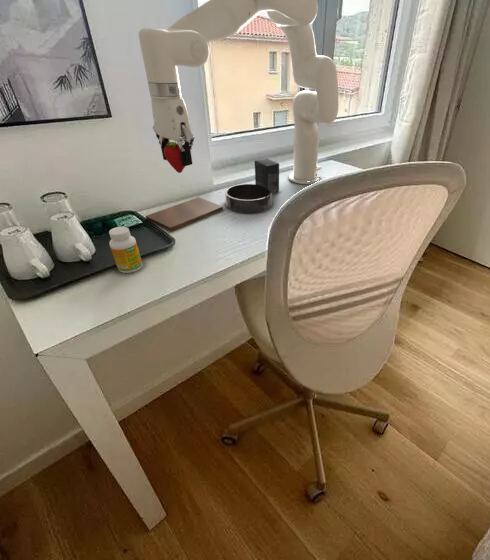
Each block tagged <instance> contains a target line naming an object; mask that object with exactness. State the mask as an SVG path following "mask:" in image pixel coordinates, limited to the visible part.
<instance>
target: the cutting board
mask: <svg viewBox="0 0 490 560" xmlns="http://www.w3.org/2000/svg"><path fill="white" fill-rule="evenodd" d="M221 211H224V206H222V205H220V204H218V203H215V202H212V201H211V200H208V199H204V198H203V197H200V196H198V197H195V198H193V199H190V200H187V201H183V202H181V203H178V204H175V205H172V206H170V207H166V208H163V209H161V210H158V211H155V212H151V213H149V214H146V215H145V219H146V220H147V221H148V222H151V223H153V224H155V225H157V226H159V227H161V228H163V229H165V230H167V231H168V232H173V231H176V230H179V229H180V228H183V227H186V226H188V225H190V224H193V223H195V222H198V221H200V220H203V219H205V218H207V217H210V216H212V215H215V214H217V213H219V212H221Z"/></svg>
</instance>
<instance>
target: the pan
mask: <svg viewBox="0 0 490 560" xmlns="http://www.w3.org/2000/svg"><path fill="white" fill-rule="evenodd" d="M272 195H273V194H272V192H271V190H270V189H269V188H268V187H266V186H263V185H258V184H255V183H240V184H239V183H238V184H234V185H231V186H230V187H228V188H226V190H225V191H224V196H225V205H226V208H227V209H228V210H229V211H231V212H233V213H238V214H245V215H246V214H247V215H251V214H259V213H263V212H266V211H268V210H269V209H271V207H272V204H273V202H272V201H273V200H272V197H273V196H272Z"/></svg>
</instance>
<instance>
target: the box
mask: <svg viewBox="0 0 490 560" xmlns="http://www.w3.org/2000/svg"><path fill="white" fill-rule="evenodd" d="M254 184H258V185H263V186H266V187H268V188H269V189H270V190H271V192H272V195H273V194H276V193H279V192H280V163H279V162H276V161H273V160H272V159H269V158H262V159H255V160H254Z"/></svg>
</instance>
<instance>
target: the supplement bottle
mask: <svg viewBox="0 0 490 560" xmlns="http://www.w3.org/2000/svg"><path fill="white" fill-rule="evenodd" d="M108 234H109V237H110V240H109V248H110V251H111V254H112V256H113V259H114V261H115V265H116V268H117V270H118V272H120V273H123V274H129V273H134V272H137V271H139V270H140V269H141V268H142V267H143V260H142V257H141V253H140V250H139V246H138V243H137V240H136V237H134V236H133V235H131V231H130V228H128V227H127V226H116V227H113V228H111V229H110V230H109V231H108Z"/></svg>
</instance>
